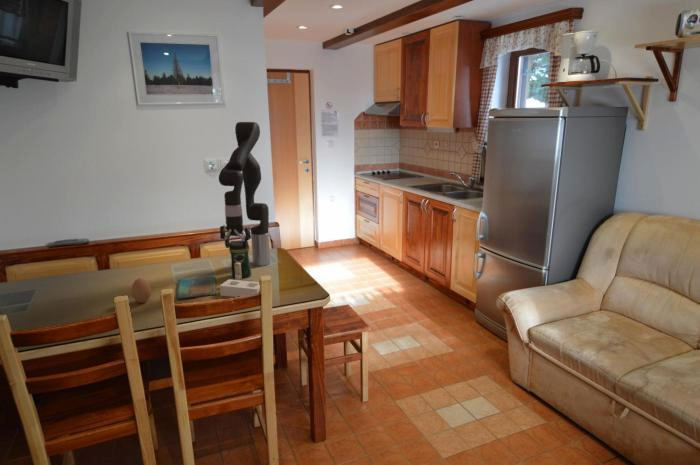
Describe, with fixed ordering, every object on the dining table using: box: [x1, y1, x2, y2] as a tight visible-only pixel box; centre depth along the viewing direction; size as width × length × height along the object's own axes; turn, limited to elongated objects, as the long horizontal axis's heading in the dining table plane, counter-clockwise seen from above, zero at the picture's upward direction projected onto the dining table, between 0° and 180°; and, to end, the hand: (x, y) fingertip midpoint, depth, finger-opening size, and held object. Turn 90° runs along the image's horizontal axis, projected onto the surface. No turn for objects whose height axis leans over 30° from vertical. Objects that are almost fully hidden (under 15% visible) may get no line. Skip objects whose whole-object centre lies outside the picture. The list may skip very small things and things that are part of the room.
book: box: [176, 275, 217, 302], centre depth 201 cm, size 17×23×2 cm
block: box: [219, 278, 260, 298], centre depth 193 cm, size 8×18×5 cm, turn 76°
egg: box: [131, 277, 152, 303], centre depth 185 cm, size 8×8×11 cm
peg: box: [234, 263, 243, 281], centre depth 205 cm, size 3×3×10 cm
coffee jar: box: [228, 239, 252, 279], centre depth 214 cm, size 10×8×19 cm
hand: (236, 248), depth 202 cm, fingers open, 8 cm apart
